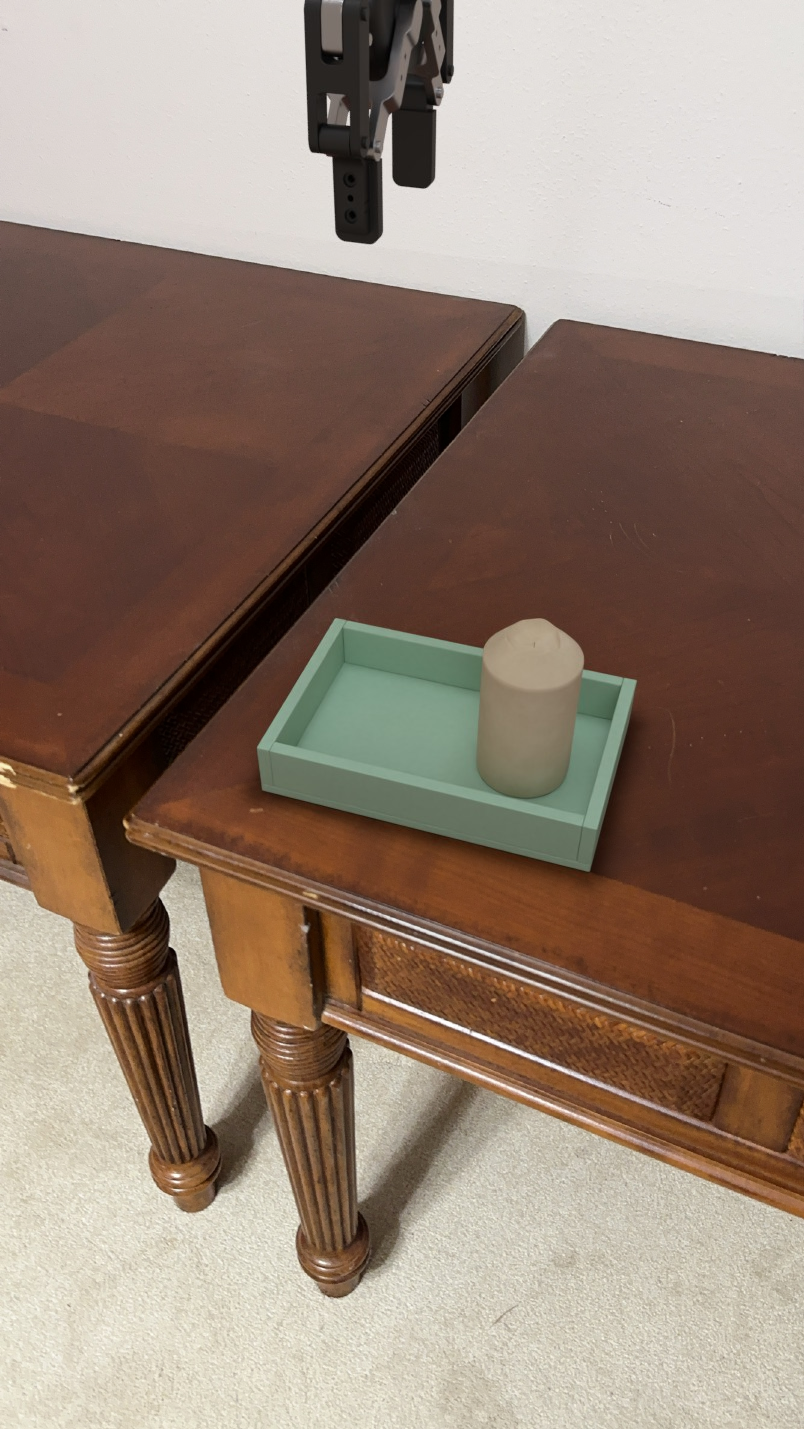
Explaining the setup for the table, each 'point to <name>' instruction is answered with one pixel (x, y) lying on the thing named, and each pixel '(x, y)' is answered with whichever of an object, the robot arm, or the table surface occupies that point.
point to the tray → (434, 745)
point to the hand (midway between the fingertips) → (388, 211)
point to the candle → (528, 708)
